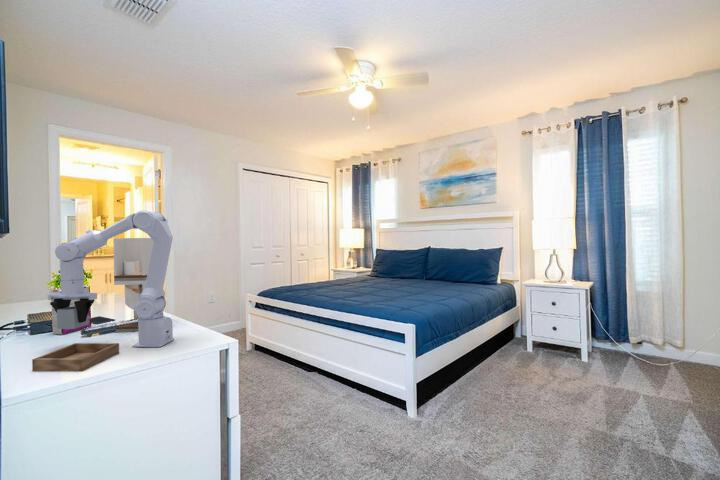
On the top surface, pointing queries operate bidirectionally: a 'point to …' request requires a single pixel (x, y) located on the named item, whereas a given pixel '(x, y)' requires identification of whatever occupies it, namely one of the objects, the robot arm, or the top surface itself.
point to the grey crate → (69, 318)
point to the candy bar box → (54, 314)
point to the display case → (131, 271)
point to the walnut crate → (75, 357)
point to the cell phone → (100, 320)
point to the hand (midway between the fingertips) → (73, 322)
